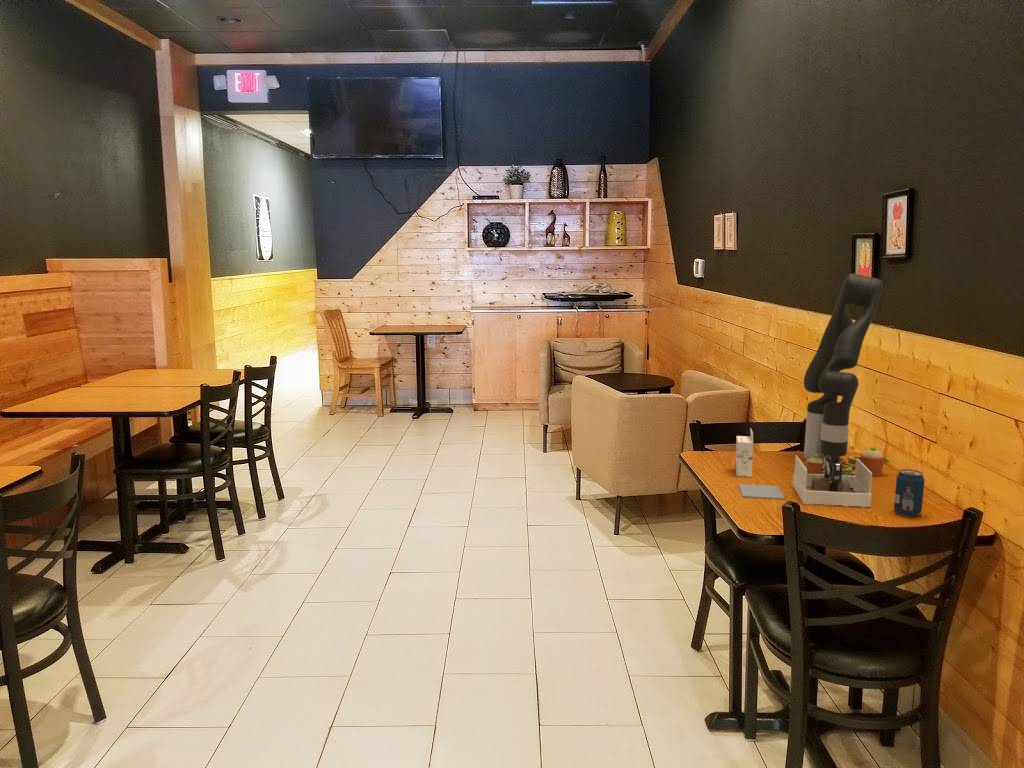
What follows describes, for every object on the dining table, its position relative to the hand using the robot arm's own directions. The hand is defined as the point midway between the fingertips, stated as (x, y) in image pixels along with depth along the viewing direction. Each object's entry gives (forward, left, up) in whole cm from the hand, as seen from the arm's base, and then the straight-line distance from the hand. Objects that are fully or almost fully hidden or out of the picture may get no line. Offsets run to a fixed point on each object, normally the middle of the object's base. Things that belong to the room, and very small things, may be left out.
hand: (830, 491), depth 226 cm
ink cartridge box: (-20, -23, -2) cm, 31 cm away
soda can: (+12, +18, -2) cm, 22 cm away
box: (0, 0, -2) cm, 2 cm away
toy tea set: (-27, +10, -2) cm, 29 cm away
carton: (0, 0, -1) cm, 1 cm away
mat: (0, -20, -1) cm, 20 cm away
